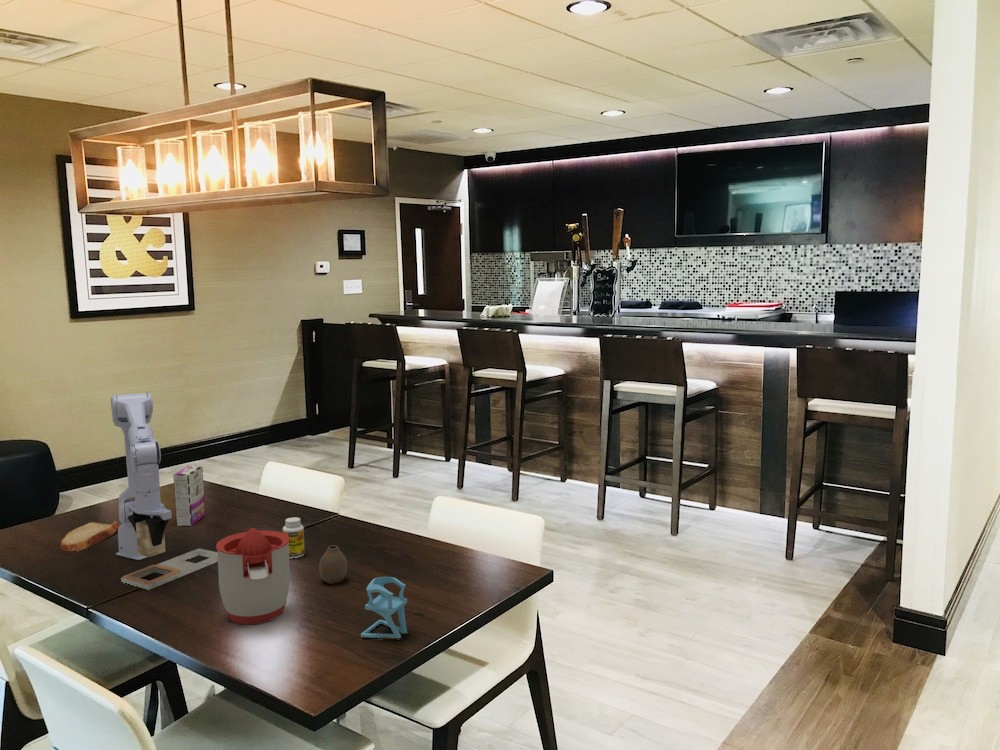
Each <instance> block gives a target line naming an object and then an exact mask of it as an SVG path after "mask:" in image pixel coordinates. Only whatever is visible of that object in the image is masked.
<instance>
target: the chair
mask: <svg viewBox="0 0 1000 750" xmlns="http://www.w3.org/2000/svg"><path fill="white" fill-rule="evenodd" d="M389 583H393V584H395V585H396V586H398V587H399V588H400V591H399V595H398V596H399V597H398V596H394V593H393V592H391V591H389V590H388V589H387V588H385V585H386V584H389ZM405 589H406V583H403V582H402V581H400V580H399V579H397V578H396V577H392V576H378V577H375V578H373V579H372V580H371V581H370V582H369V584H368V585H367V587H366V589H365V590H366V592H367V597H368V599H369V600H368V602H367V603H366V604H365V605H364V610H367V611H373V612H375V613H377V614H378V615H380V616H381V617H382V618H383V619H384V620H383V619H378V620H377V621H376V622H375V623H373V624H372V625H371V626H369V627H368V628H367V629H366V630H364V631H363V632H360V638H361V637H369V638H370V637H371V638H374V637H375V638H376V637H377V638H380V637H381V638H382V637H388V638H389V637H390V638H401V639H402V635H401V634H400V633H399V632H401V633H407V634H408V630H407V623H406V614H405V605H406V604H407V603H408V598H405V597H404V591H405ZM373 593H380V594H378V595H377V596H376V597H375V598H374V597H373ZM396 612H397V615H398V622H399V626H398V625H396V624H395V623H394V621H393V618H392V615H393V614H395V613H396ZM379 624H384V625H386V626H388V627H390V628H391V630H390V631H391V632H392V633H372V632H370V631H371V630H372V629H374V628H375V627H376V626H378V625H379ZM379 626H380V625H379ZM379 626H378V627H379ZM375 629H376V628H375ZM375 629H374V630H375ZM369 632H370V633H369Z"/></svg>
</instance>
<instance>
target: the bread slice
mask: <svg viewBox="0 0 1000 750" xmlns="http://www.w3.org/2000/svg"><path fill="white" fill-rule="evenodd" d="M120 525H121V523H120V522H118V521H113V522H112V523H111V524H109V523H102V522H101V523H100V522H97V521H96V522H93V521H91V522H87V523H85V524H84V525H83V524H82V525H81V526H78V527H76V528H74V529H72V530H70V531H69V532H67V533H66V534H65V536H64V538H62V539H61V541H60V545H59V547H60V549H62V550H61V551H63V550H64V551H63V552H66V551H68V552H67V553H70V552H69V551H77V552H80V551H79V550H81V551H84V550H86V549H89V548H91V547H93V546H96V545H97V544H99V543H101V542H103V541H105V540H106V538H107V539H109V538H110V537H112V536H114V534H116V533H117V532H118V529H119V527H120ZM108 537H109V538H108ZM95 544H96V545H95ZM92 545H93V546H92ZM90 546H91V547H90ZM88 547H89V548H88ZM83 549H84V550H83Z"/></svg>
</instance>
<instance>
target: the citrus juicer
mask: <svg viewBox="0 0 1000 750" xmlns="http://www.w3.org/2000/svg"><path fill="white" fill-rule="evenodd" d="M289 541H290V538H289V536H288V535H286V534H285V533H283V532H281V531H278V530H277V531H276V530H258V529H256V528H255V527H252V528H250V529H249V530H248V531H243V532H238V533H234V534H230V535H228V536H226V537H224V538H222V539H220V540H219V541H217V543H216V545H215V549H216V550H217V551H216V552H217V553H218V562H217V571H218V586H219V587H218V588H219V593H220V598H221V602H222V605H223V608H224V611H225V613H226V615H227V617H228V619H229V620H230V621H231V622H233V623H236V624H238V625H242V626H243V625H257V624H261V623H266V622H269V621H270V622H271V621H273V620H275V619H277V618H278V617H280V615H282V613H283V612H284V609H285V607H286V603H287V599H288V595H289V589H290V586H291V585H290V581H291V580H290V579H291V575H290V574H291V573H290V569H291V568H290V559H289Z"/></svg>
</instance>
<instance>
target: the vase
mask: <svg viewBox="0 0 1000 750" xmlns="http://www.w3.org/2000/svg"><path fill="white" fill-rule="evenodd" d="M318 570H319V571H318V572H319V575H320V577H321V579H322V581H324V582H325V583H326V584H328V585H329V584H330V585H333V584H334V585H335V583H336V584H339V583H341V582H342V581H343V580H344V579H345V578H346V575H347V573H348V561H347V558H346V555H345V554H343V552H342V551H341V550H340V549H339V546H337V545H335V544H333V545H329V546H328V547H327V549H326V551H325V552H324V553H323V554H322V556H321V558H320V560H319V564H318Z"/></svg>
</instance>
